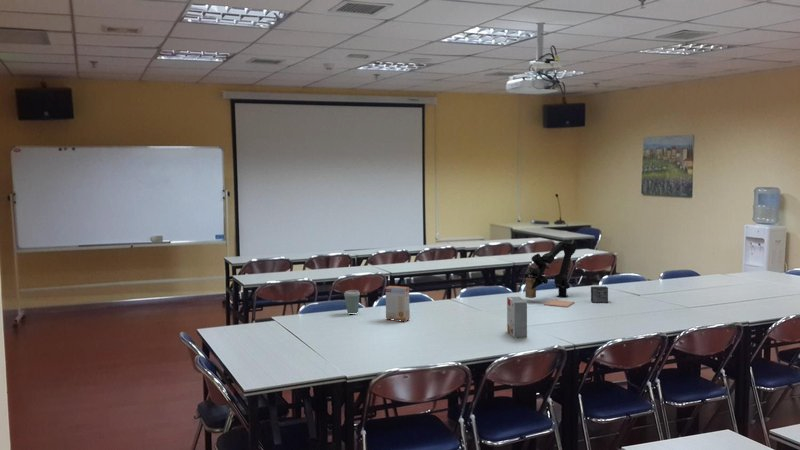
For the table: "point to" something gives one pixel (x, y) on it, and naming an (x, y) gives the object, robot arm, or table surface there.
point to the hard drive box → (517, 316)
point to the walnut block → (530, 288)
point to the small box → (599, 294)
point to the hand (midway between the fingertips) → (529, 287)
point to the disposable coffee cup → (352, 300)
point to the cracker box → (397, 303)
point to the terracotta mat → (559, 303)
